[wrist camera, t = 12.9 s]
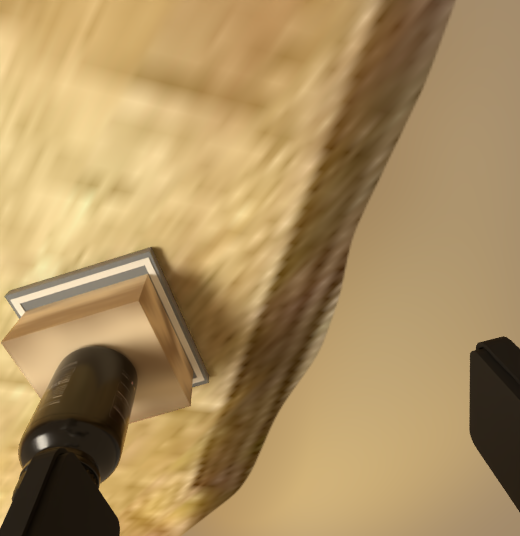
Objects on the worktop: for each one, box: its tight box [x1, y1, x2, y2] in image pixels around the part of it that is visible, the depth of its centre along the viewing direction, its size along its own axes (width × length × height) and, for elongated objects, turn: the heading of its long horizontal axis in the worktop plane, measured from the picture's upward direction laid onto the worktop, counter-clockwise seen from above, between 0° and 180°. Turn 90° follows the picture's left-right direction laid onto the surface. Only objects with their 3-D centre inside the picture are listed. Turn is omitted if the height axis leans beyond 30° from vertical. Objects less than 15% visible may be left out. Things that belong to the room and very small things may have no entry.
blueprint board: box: [5, 247, 209, 387], centre depth 41 cm, size 16×14×1 cm
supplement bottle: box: [12, 346, 138, 501], centre depth 31 cm, size 7×7×12 cm
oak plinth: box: [1, 274, 193, 424], centre depth 39 cm, size 12×12×5 cm
